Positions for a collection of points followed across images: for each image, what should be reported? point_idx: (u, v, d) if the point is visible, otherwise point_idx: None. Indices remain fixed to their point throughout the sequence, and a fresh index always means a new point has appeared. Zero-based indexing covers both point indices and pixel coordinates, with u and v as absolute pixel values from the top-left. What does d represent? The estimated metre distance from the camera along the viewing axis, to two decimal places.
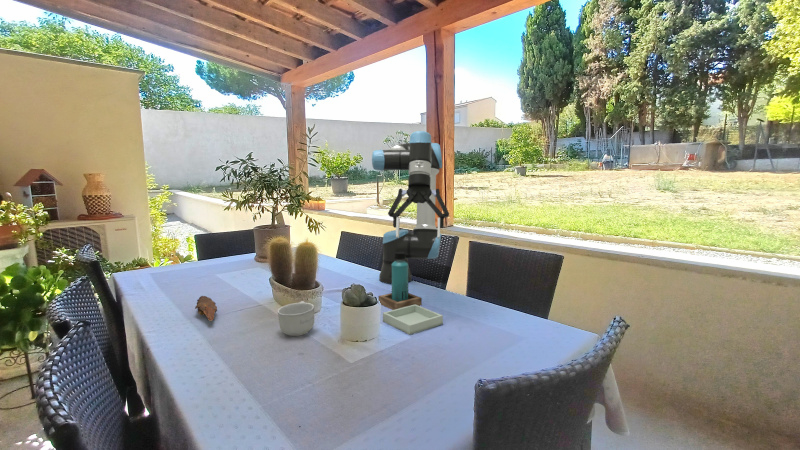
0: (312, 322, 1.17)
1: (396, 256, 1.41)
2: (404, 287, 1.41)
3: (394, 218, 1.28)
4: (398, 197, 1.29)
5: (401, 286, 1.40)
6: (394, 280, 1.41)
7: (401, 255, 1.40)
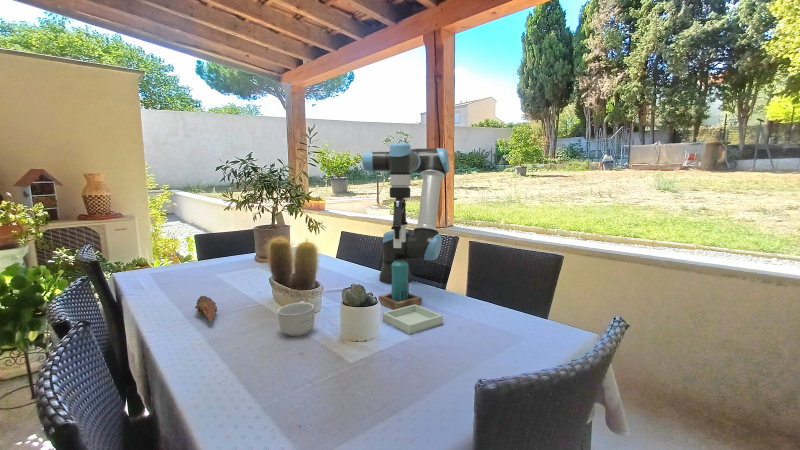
0: (312, 322, 1.17)
1: (396, 256, 1.41)
2: (404, 287, 1.41)
3: (400, 225, 1.48)
4: None
5: (401, 286, 1.40)
6: (394, 280, 1.41)
7: (401, 255, 1.40)
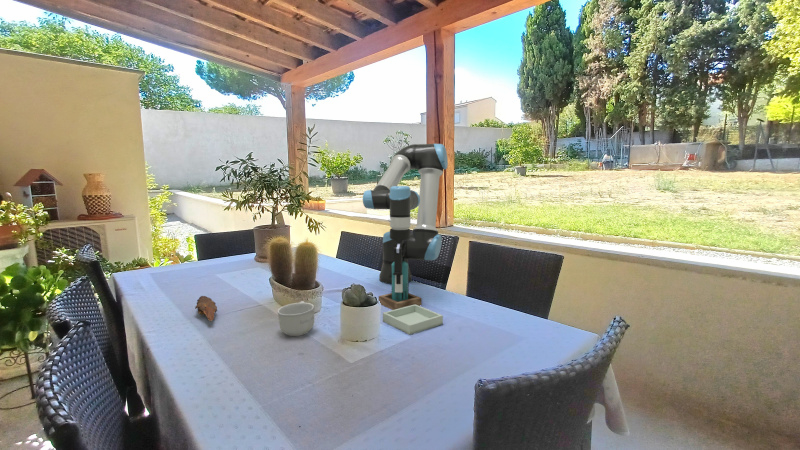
0: (312, 322, 1.17)
1: None
2: (404, 287, 1.41)
3: None
4: None
5: None
6: (394, 280, 1.41)
7: None
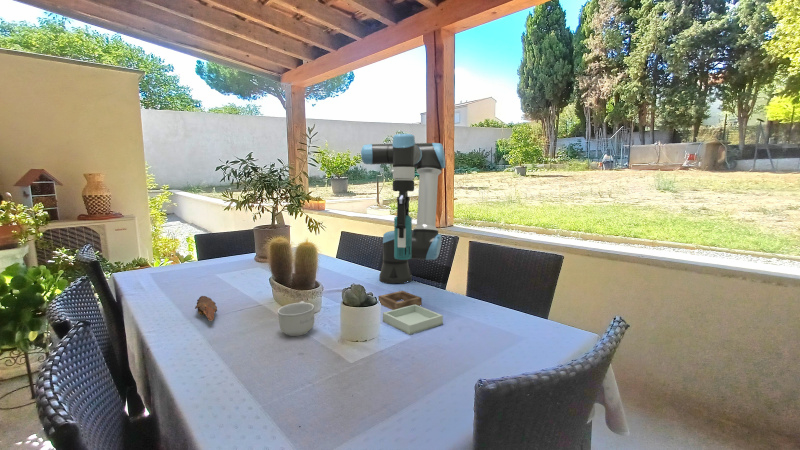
0: (312, 322, 1.17)
1: None
2: (407, 242, 1.32)
3: None
4: None
5: None
6: (397, 235, 1.33)
7: None
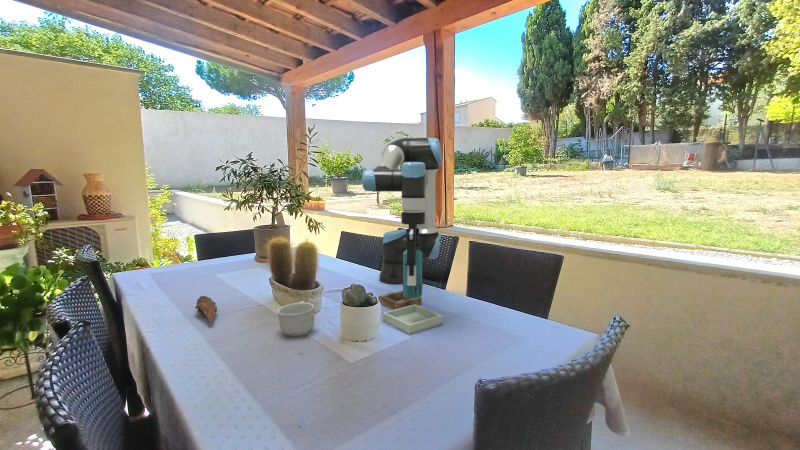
0: (312, 322, 1.17)
1: None
2: (417, 279, 1.21)
3: None
4: None
5: None
6: (406, 271, 1.22)
7: None
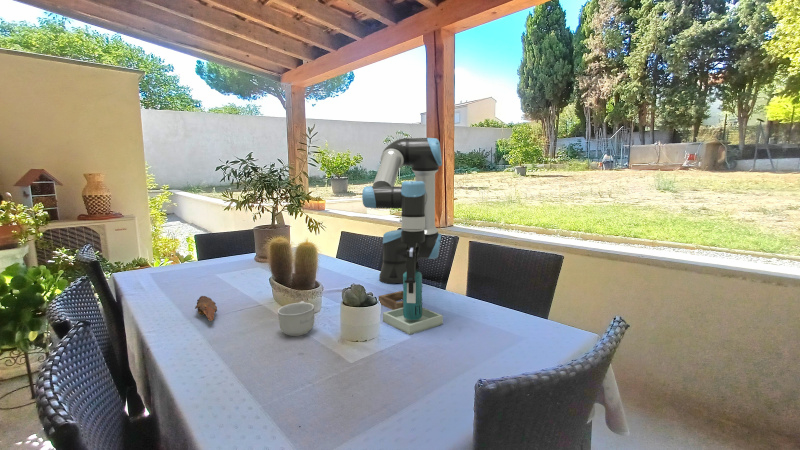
0: (312, 322, 1.17)
1: None
2: (417, 301, 1.23)
3: None
4: None
5: None
6: (406, 293, 1.23)
7: None
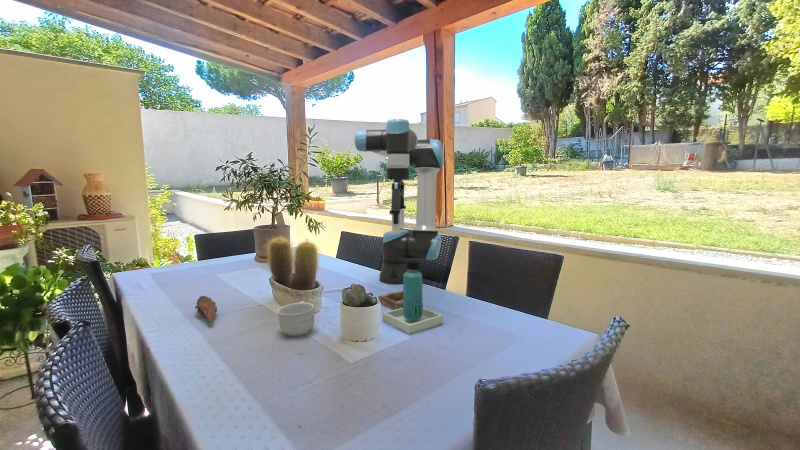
0: (312, 322, 1.17)
1: (409, 266, 1.23)
2: (417, 301, 1.23)
3: None
4: None
5: (414, 300, 1.22)
6: (406, 293, 1.23)
7: (414, 264, 1.22)
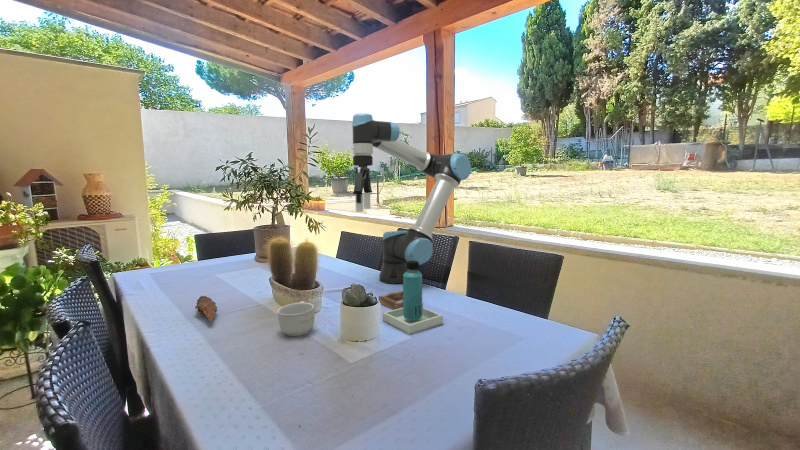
0: (312, 322, 1.17)
1: (409, 266, 1.23)
2: (417, 301, 1.23)
3: None
4: None
5: (414, 300, 1.22)
6: (406, 293, 1.23)
7: (414, 264, 1.22)
